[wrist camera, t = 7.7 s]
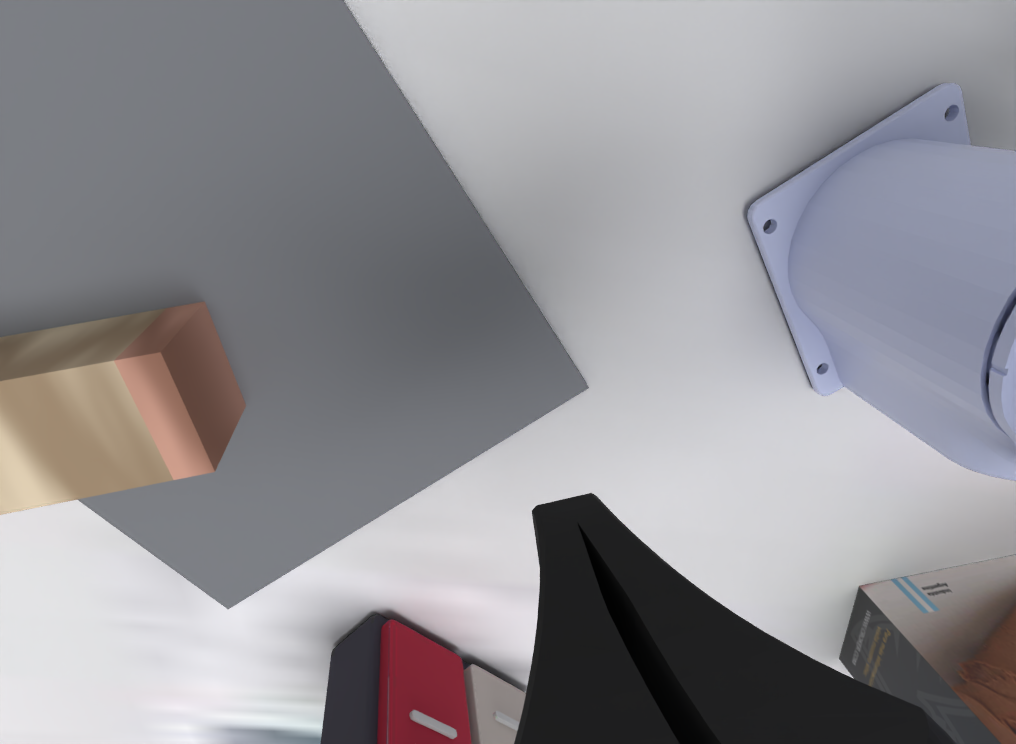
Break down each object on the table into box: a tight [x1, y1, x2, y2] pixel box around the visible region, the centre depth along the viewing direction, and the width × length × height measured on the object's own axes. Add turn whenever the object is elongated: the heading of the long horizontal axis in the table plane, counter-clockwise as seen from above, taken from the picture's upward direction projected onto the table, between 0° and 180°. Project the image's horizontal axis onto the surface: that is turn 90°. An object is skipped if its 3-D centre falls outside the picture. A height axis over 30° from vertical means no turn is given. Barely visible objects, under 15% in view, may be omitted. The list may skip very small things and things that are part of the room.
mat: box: [0, 0, 589, 609], centre depth 19 cm, size 20×18×1 cm
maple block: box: [0, 301, 246, 515], centre depth 18 cm, size 4×4×8 cm
